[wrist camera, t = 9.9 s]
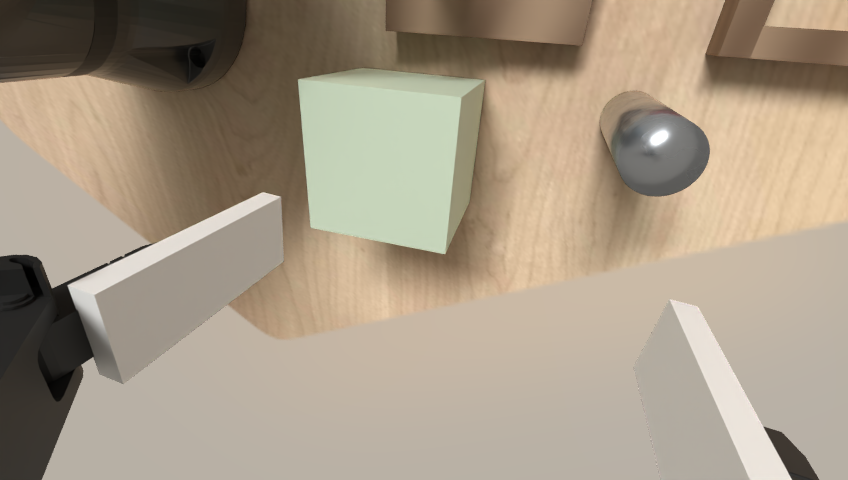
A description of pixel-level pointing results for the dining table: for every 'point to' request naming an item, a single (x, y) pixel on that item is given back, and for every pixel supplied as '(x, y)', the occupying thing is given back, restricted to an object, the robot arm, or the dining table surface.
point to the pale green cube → (390, 154)
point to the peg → (653, 144)
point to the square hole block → (773, 37)
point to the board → (493, 19)
